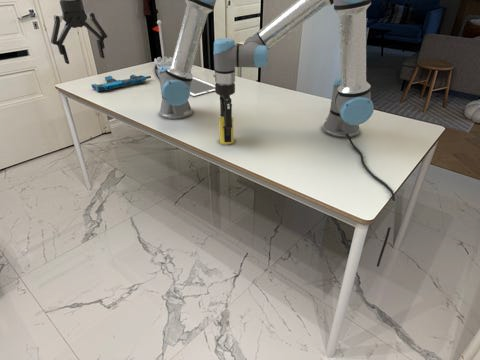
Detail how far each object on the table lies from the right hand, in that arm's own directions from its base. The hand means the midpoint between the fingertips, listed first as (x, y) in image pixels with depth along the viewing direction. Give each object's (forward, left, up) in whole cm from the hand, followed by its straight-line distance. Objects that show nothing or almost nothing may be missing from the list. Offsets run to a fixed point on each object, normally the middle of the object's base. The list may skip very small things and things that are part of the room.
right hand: (226, 138), depth 140 cm
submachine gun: (+100, +27, -2) cm, 104 cm away
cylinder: (0, 0, -2) cm, 2 cm away
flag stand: (+126, -7, -2) cm, 126 cm away
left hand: (+32, +46, +29) cm, 63 cm away
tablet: (+76, -11, -2) cm, 77 cm away
